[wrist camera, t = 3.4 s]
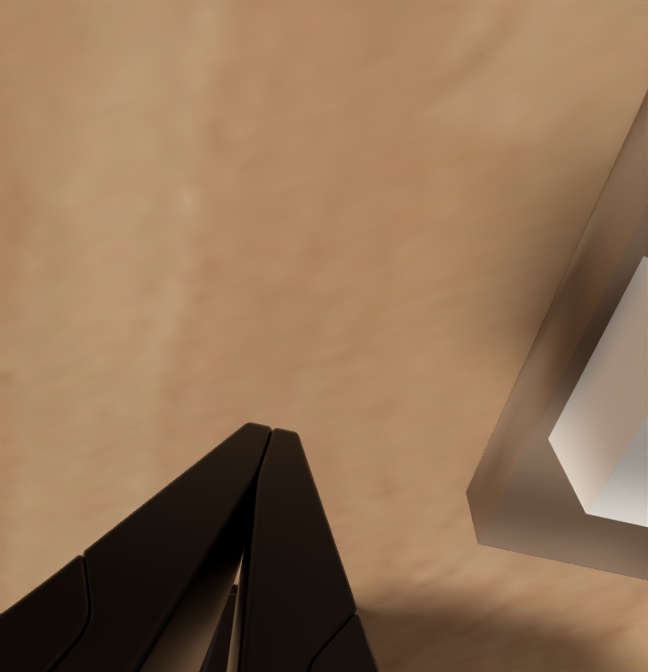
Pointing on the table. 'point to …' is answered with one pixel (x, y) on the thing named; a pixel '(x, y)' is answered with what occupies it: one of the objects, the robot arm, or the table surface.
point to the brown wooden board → (568, 392)
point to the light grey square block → (612, 416)
